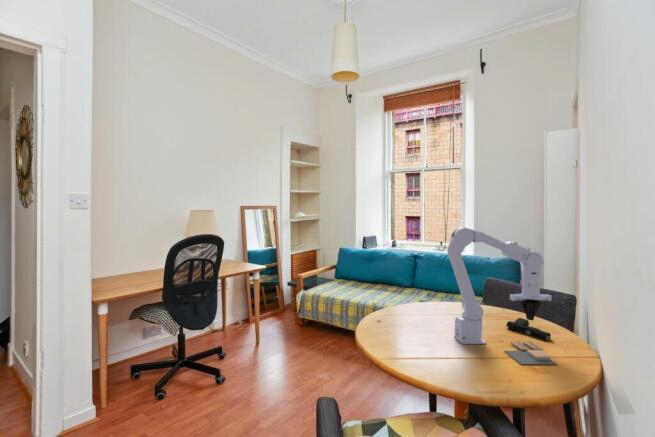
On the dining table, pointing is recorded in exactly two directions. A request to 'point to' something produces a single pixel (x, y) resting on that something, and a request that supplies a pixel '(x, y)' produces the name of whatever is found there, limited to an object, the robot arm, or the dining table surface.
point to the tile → (538, 355)
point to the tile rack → (526, 343)
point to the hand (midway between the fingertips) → (529, 319)
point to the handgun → (527, 329)
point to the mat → (527, 358)
